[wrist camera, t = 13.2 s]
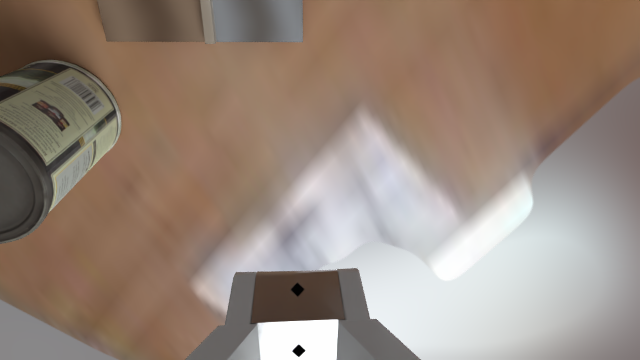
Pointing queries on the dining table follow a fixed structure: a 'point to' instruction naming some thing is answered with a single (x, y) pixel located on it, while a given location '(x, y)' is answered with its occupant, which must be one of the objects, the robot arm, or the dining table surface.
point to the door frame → (202, 20)
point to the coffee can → (49, 139)
